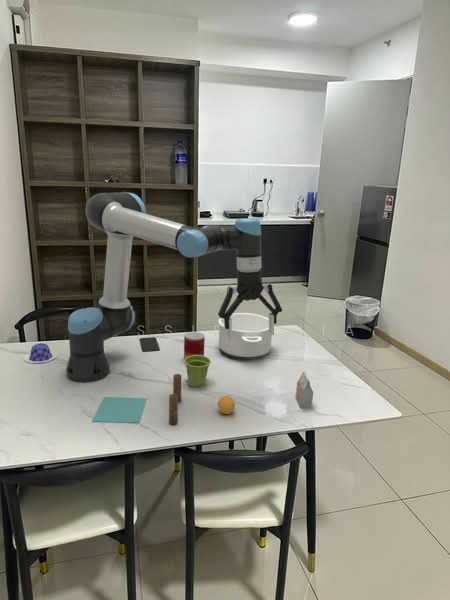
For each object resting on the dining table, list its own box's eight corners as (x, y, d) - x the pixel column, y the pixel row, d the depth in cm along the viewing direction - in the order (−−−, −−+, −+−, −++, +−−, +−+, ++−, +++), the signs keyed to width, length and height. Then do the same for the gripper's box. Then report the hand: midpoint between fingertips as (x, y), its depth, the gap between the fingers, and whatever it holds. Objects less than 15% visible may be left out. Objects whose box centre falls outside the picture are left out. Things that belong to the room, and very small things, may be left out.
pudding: (23, 366, 155) (22, 353, 153) (24, 353, 165) (23, 341, 164) (58, 362, 160) (57, 349, 158) (56, 350, 170) (55, 338, 168)
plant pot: (213, 379, 151) (214, 357, 149) (204, 391, 143) (204, 368, 140) (190, 374, 154) (190, 353, 151) (179, 385, 145) (179, 363, 143)
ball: (217, 417, 128) (218, 401, 126) (217, 407, 133) (218, 392, 131) (235, 417, 128) (236, 401, 126) (234, 407, 133) (235, 392, 132)
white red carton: (306, 398, 141) (309, 371, 138) (311, 408, 135) (314, 381, 132) (295, 397, 141) (298, 371, 138) (300, 408, 135) (303, 381, 132)
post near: (168, 424, 122) (168, 398, 120) (169, 419, 125) (169, 393, 122) (177, 425, 123) (177, 398, 120) (178, 420, 125) (178, 393, 122)
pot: (212, 337, 191) (214, 309, 187) (262, 336, 194) (264, 309, 190) (222, 369, 159) (223, 336, 155) (281, 368, 163) (284, 335, 159)
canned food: (203, 365, 162) (203, 339, 158) (182, 364, 162) (183, 338, 159) (204, 357, 169) (205, 332, 166) (184, 356, 169) (185, 331, 166)
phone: (155, 336, 187) (160, 349, 173) (155, 338, 187) (160, 351, 173) (139, 338, 185) (142, 351, 171) (139, 339, 185) (142, 353, 171)
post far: (172, 402, 135) (172, 377, 132) (173, 398, 137) (173, 373, 134) (180, 402, 135) (181, 377, 132) (181, 398, 137) (181, 374, 135)
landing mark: (91, 421, 122) (91, 421, 122) (104, 397, 136) (103, 396, 136) (139, 423, 123) (139, 422, 123) (146, 398, 136) (146, 398, 136)
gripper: (211, 275, 120) (214, 344, 125) (292, 268, 125) (292, 335, 130) (206, 271, 127) (210, 336, 132) (283, 265, 132) (284, 328, 137)
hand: (251, 336), depth 131 cm, fingers open, 13 cm apart
